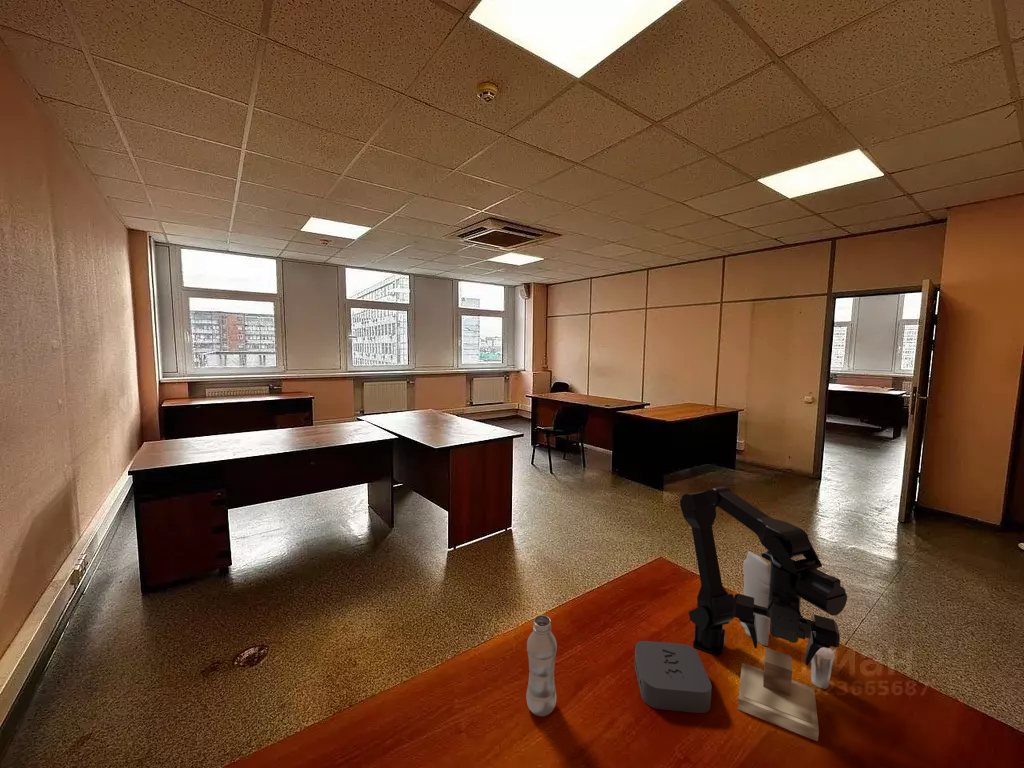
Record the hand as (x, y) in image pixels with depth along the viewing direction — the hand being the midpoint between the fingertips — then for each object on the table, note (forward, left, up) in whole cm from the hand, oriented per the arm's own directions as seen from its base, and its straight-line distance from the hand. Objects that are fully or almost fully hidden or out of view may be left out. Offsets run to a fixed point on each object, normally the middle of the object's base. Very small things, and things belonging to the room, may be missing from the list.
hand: (780, 655), depth 91 cm
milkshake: (+9, +12, -12) cm, 19 cm away
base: (0, 0, -11) cm, 11 cm away
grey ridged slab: (-5, +23, -12) cm, 26 cm away
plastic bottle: (-43, -28, -12) cm, 53 cm away
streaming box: (-21, -7, -12) cm, 25 cm away
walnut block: (0, +3, -9) cm, 9 cm away
